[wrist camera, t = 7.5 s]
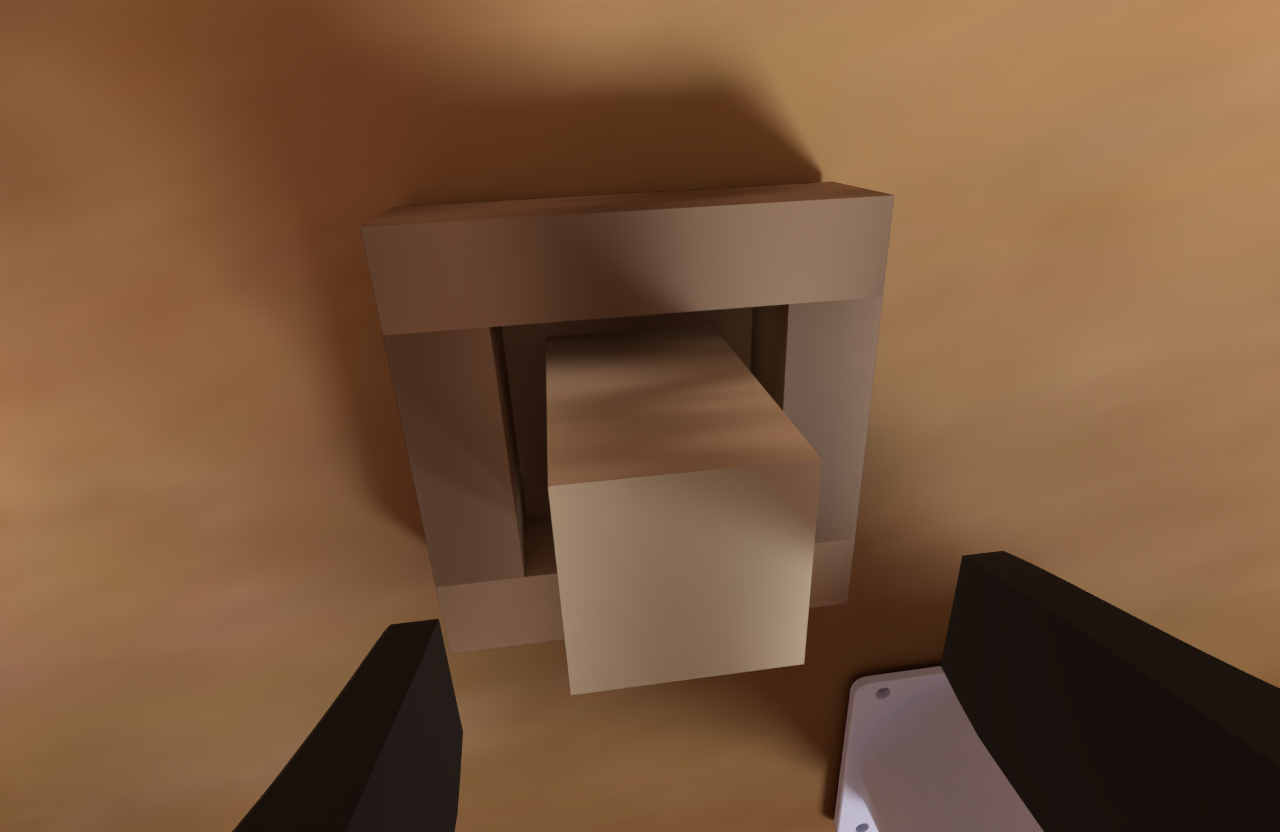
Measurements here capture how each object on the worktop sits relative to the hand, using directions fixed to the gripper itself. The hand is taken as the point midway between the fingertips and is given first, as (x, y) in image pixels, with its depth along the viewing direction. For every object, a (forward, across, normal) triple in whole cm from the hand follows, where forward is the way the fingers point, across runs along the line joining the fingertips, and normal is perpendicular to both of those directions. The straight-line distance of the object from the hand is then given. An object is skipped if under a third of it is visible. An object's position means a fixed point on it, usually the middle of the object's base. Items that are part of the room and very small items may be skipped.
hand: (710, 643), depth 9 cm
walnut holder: (+9, 0, 0) cm, 9 cm away
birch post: (+8, 0, 0) cm, 8 cm away
